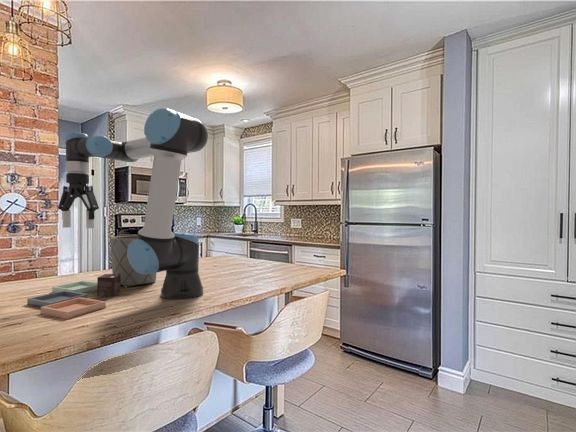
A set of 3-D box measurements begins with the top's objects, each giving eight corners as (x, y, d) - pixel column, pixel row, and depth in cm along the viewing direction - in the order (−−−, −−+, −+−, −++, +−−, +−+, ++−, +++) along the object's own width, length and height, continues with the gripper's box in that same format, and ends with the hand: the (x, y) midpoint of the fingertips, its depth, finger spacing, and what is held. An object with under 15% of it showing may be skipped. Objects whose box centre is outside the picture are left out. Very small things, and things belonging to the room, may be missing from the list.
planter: (102, 283, 144) (102, 236, 143) (145, 276, 158) (145, 234, 158) (122, 290, 131) (122, 239, 131) (166, 282, 146) (166, 237, 146)
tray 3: (105, 307, 108) (105, 301, 108) (67, 319, 97) (67, 312, 97) (80, 303, 113) (80, 297, 113) (40, 313, 102) (40, 307, 102)
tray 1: (87, 299, 117) (87, 294, 117) (51, 309, 106) (51, 303, 106) (64, 295, 122) (64, 290, 122) (27, 304, 111) (27, 298, 111)
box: (104, 293, 127) (104, 273, 127) (121, 292, 128) (121, 273, 127) (96, 297, 121) (96, 277, 121) (114, 297, 121) (114, 277, 121)
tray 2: (104, 288, 134) (104, 283, 134) (73, 295, 123) (73, 290, 123) (83, 285, 139) (83, 280, 139) (52, 292, 128) (52, 286, 128)
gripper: (108, 173, 129) (109, 228, 129) (66, 175, 138) (66, 226, 139) (90, 170, 122) (91, 229, 122) (47, 173, 132) (47, 227, 132)
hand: (78, 227), depth 130 cm, fingers open, 13 cm apart
